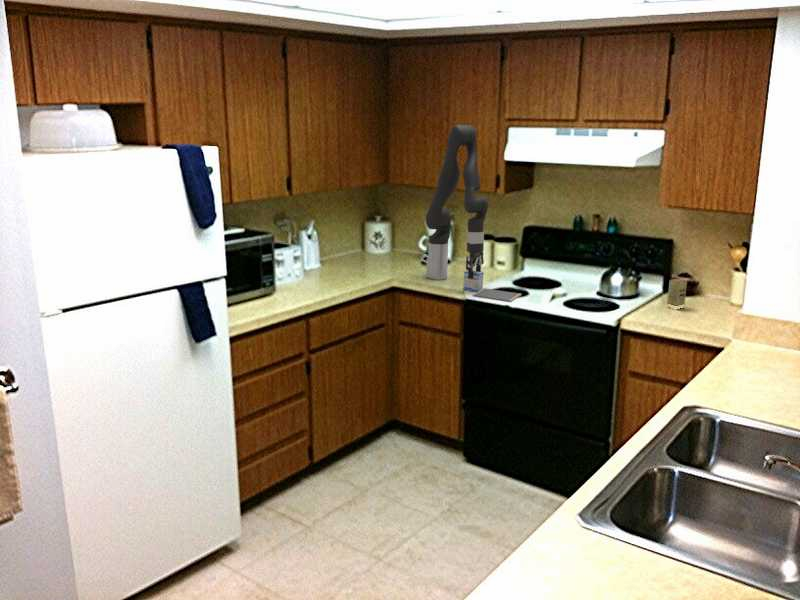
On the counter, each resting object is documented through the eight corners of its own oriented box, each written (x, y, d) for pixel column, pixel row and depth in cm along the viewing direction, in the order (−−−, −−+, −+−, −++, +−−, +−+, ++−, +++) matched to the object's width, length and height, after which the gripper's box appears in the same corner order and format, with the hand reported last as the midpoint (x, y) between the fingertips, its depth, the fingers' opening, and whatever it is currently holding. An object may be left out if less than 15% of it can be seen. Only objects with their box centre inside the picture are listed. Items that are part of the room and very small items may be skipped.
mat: (472, 296, 334) (472, 294, 334) (484, 289, 345) (484, 288, 345) (510, 302, 325) (510, 300, 325) (521, 295, 336) (521, 293, 336)
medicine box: (462, 290, 344) (463, 271, 341) (466, 288, 347) (467, 269, 345) (479, 292, 340) (479, 273, 338) (482, 290, 344) (483, 271, 341)
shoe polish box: (666, 307, 320) (669, 279, 317) (674, 305, 323) (677, 278, 320) (676, 310, 317) (679, 282, 313) (683, 308, 319) (687, 280, 316)
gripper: (473, 238, 345) (473, 272, 349) (461, 243, 333) (460, 279, 337) (489, 239, 342) (488, 274, 346) (476, 244, 330) (475, 280, 334)
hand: (474, 276), depth 342 cm, fingers open, 8 cm apart
